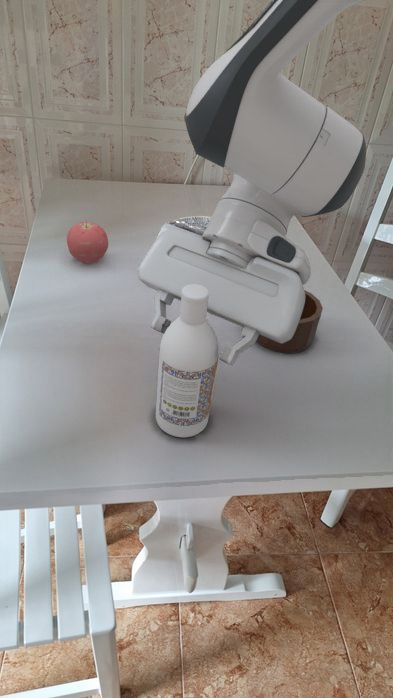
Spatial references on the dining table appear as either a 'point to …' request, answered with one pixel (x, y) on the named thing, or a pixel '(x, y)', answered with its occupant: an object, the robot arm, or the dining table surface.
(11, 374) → the dining table surface
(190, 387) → the bath foam
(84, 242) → the apple
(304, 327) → the cup
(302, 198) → the robot arm
